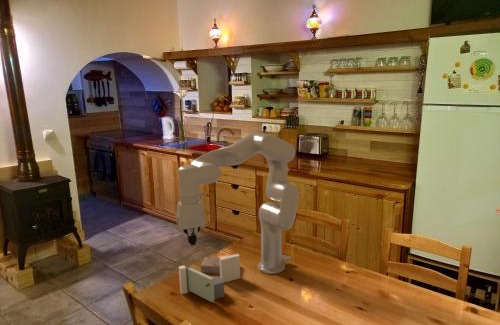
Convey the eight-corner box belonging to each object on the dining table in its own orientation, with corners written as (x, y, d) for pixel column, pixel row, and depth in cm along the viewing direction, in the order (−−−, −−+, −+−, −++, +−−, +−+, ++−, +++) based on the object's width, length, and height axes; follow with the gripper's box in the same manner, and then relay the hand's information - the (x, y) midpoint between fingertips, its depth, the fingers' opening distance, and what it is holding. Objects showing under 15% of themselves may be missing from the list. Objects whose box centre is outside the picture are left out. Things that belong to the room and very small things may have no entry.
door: (214, 300, 144) (213, 277, 141) (209, 303, 141) (208, 281, 139) (189, 287, 153) (188, 266, 150) (184, 290, 151) (182, 268, 148)
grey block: (219, 290, 152) (219, 276, 150) (224, 296, 147) (223, 282, 146) (208, 293, 150) (208, 279, 148) (212, 299, 145) (212, 285, 144)
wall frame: (238, 275, 162) (237, 252, 160) (240, 278, 160) (239, 254, 158) (180, 291, 151) (178, 266, 149) (181, 294, 149) (180, 269, 146)
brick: (200, 273, 165) (199, 264, 164) (204, 264, 174) (204, 255, 172) (235, 275, 164) (235, 266, 162) (238, 266, 172) (238, 257, 171)
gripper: (205, 192, 140) (207, 236, 145) (167, 198, 134) (170, 244, 138) (212, 198, 134) (214, 243, 138) (172, 204, 128) (175, 252, 132)
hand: (192, 243), depth 138 cm, fingers closed
